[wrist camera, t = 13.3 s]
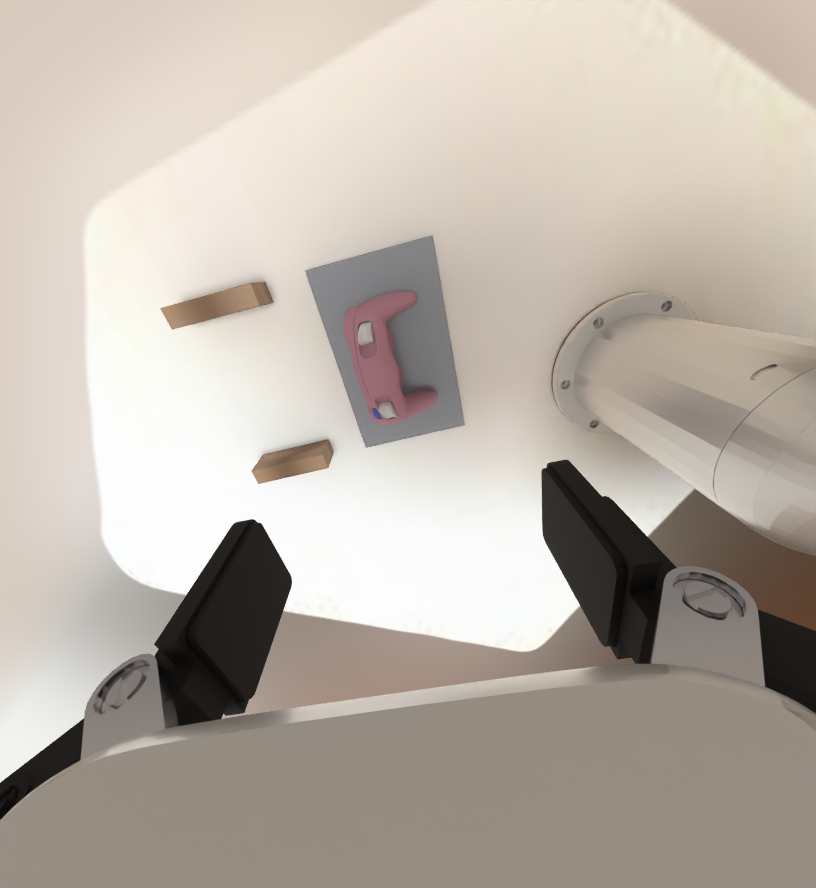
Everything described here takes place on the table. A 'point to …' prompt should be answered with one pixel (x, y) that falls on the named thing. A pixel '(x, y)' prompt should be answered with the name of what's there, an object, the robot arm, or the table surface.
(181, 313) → the dock
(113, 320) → the table surface
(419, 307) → the mat
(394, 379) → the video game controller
